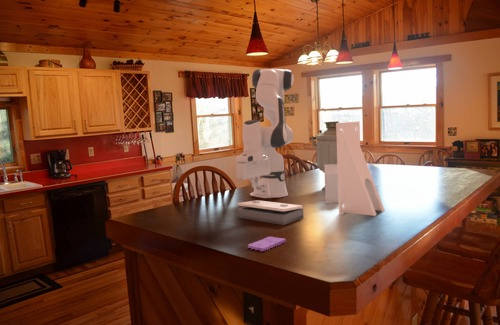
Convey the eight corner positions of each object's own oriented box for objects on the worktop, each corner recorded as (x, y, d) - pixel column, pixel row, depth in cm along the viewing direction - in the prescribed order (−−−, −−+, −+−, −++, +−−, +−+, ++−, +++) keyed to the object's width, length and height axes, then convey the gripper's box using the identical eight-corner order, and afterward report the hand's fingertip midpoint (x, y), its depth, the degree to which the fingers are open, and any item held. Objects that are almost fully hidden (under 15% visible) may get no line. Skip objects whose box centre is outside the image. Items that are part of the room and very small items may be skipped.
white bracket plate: (369, 218, 167) (367, 121, 163) (338, 214, 177) (336, 123, 173) (389, 208, 182) (387, 120, 178) (359, 205, 192) (357, 121, 187)
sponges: (247, 250, 136) (247, 244, 136) (270, 240, 145) (269, 235, 145) (264, 253, 131) (263, 248, 131) (286, 243, 141) (285, 238, 141)
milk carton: (340, 203, 199) (338, 165, 197) (325, 203, 201) (324, 165, 199) (339, 200, 206) (338, 163, 204) (325, 200, 208) (324, 163, 206)
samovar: (372, 188, 236) (370, 119, 232) (341, 194, 221) (338, 121, 217) (335, 183, 260) (332, 121, 256) (304, 188, 246) (302, 123, 242)
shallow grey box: (237, 217, 181) (237, 208, 180) (258, 211, 191) (257, 202, 191) (284, 225, 163) (283, 215, 163) (303, 217, 174) (303, 208, 173)
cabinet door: (237, 205, 180) (237, 201, 180) (257, 202, 191) (257, 198, 191) (283, 211, 163) (283, 207, 163) (303, 208, 173) (303, 204, 173)
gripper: (262, 154, 190) (264, 183, 191) (232, 158, 174) (234, 189, 176) (273, 154, 185) (274, 183, 187) (243, 158, 170) (245, 190, 172)
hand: (255, 186), depth 181 cm, fingers closed
